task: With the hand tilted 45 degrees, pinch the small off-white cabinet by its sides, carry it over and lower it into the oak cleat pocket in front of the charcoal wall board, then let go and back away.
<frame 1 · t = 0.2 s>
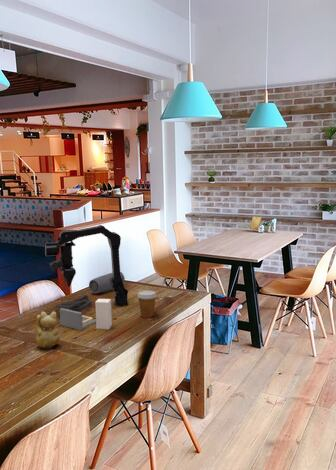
hand: (67, 284, 219), 15 cm above the table, tool pointing down, fingers open, 9 cm apart
white cabinet: (104, 327, 199), on the table
bluetooth speaker: (107, 290, 257), on the table
decorative figurine: (48, 347, 179), on the table
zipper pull: (75, 310, 223), on the table
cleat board: (78, 323, 204), on the table
disposable coffee cup: (147, 315, 214), on the table
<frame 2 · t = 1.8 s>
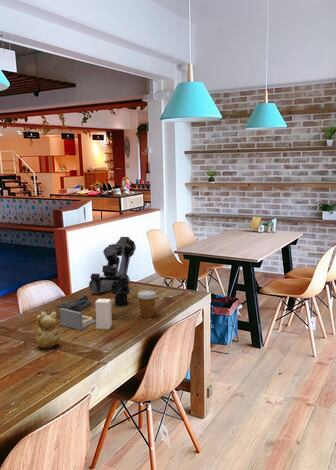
hand: (107, 294, 205), 13 cm above the table, tool tilted 45°, fingers open, 9 cm apart
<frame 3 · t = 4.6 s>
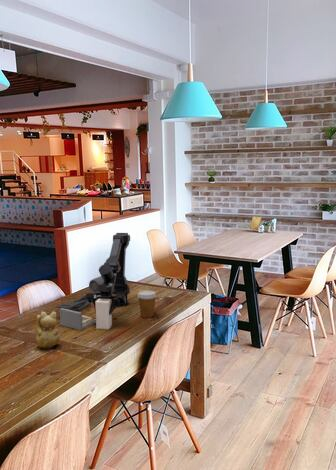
hand: (102, 314, 197), 7 cm above the table, tool tilted 45°, fingers closed on white cabinet, 6 cm apart
white cabinet: (104, 326, 199), on the table, touching gripper
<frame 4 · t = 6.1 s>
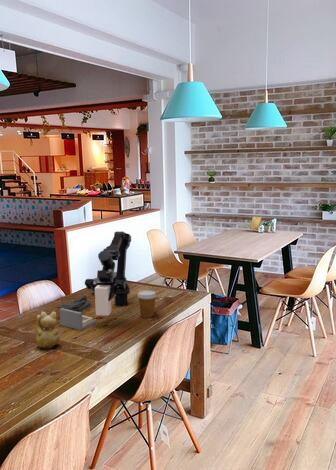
hand: (102, 300, 196), 13 cm above the table, tool tilted 45°, fingers closed on white cabinet, 6 cm apart
white cabinet: (103, 313, 198), point 7 cm above the table, touching gripper
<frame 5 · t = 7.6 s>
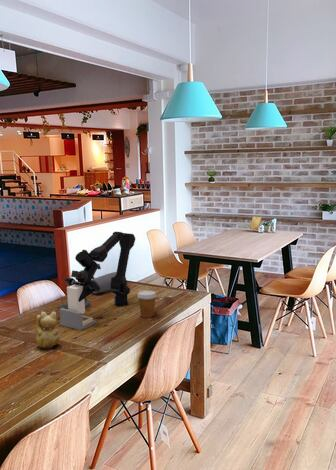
hand: (74, 300, 200), 12 cm above the table, tool tilted 45°, fingers closed on white cabinet, 6 cm apart
white cabinet: (76, 312, 202), point 6 cm above the table, touching gripper
when the fingers open (9 cm above the table, at t = 8.8 s): white cabinet stays where it is, resting on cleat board.
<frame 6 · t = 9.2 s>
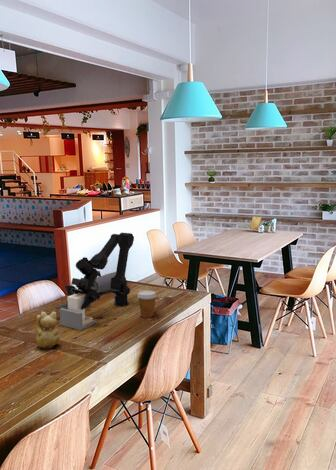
hand: (74, 307, 200), 9 cm above the table, tool tilted 45°, fingers open, 9 cm apart
white cabinet: (77, 322, 203), point 1 cm above the table, touching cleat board
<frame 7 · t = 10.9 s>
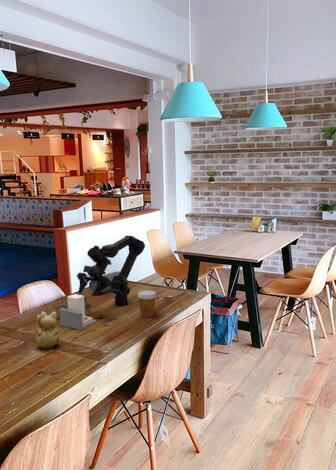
hand: (86, 294, 207), 13 cm above the table, tool tilted 45°, fingers open, 9 cm apart
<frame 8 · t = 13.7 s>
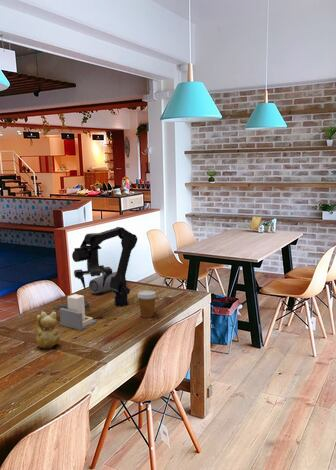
hand: (93, 288, 217), 13 cm above the table, tool pointing down, fingers open, 9 cm apart
at the end: white cabinet 0.7 cm off-centre on the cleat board, point 1.0 cm above the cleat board's base; white cabinet tilted 0°; the gripper is holding nothing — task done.
